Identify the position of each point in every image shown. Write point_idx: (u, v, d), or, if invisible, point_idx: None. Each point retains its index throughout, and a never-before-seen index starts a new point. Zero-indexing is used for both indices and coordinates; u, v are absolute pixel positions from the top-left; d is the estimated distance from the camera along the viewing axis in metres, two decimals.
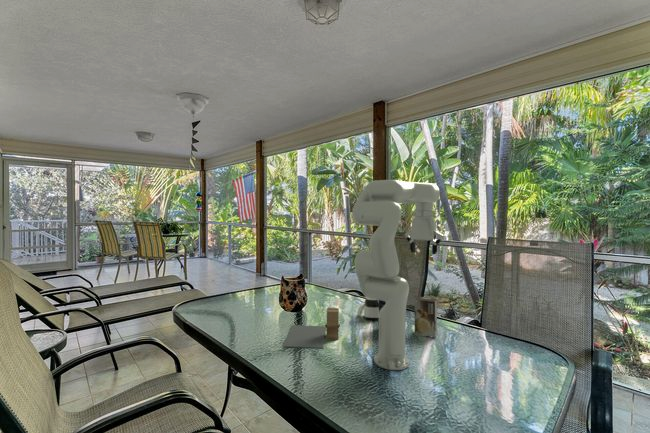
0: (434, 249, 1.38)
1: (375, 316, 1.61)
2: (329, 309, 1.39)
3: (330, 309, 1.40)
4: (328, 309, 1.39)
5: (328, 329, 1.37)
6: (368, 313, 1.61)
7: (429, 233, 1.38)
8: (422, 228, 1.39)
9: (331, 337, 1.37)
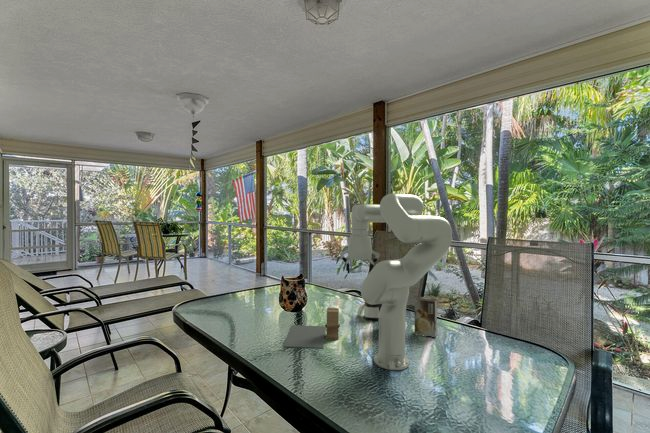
0: None
1: (375, 316, 1.61)
2: (329, 309, 1.39)
3: (330, 309, 1.40)
4: (328, 309, 1.39)
5: (328, 329, 1.37)
6: (368, 313, 1.61)
7: None
8: None
9: (331, 337, 1.37)
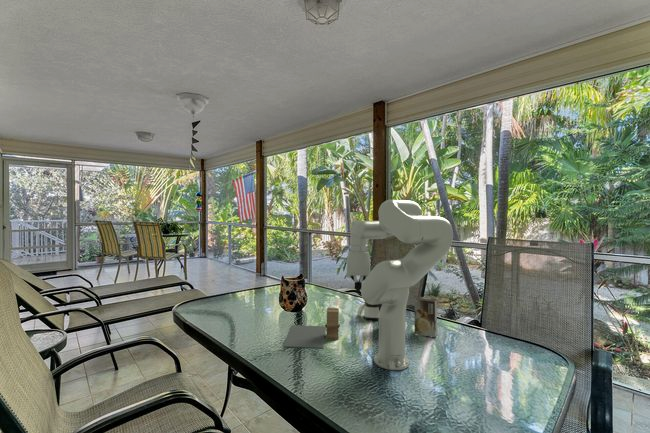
0: None
1: (375, 316, 1.61)
2: (329, 309, 1.39)
3: (330, 309, 1.40)
4: (328, 309, 1.39)
5: (328, 329, 1.37)
6: (368, 313, 1.61)
7: None
8: None
9: (331, 337, 1.37)
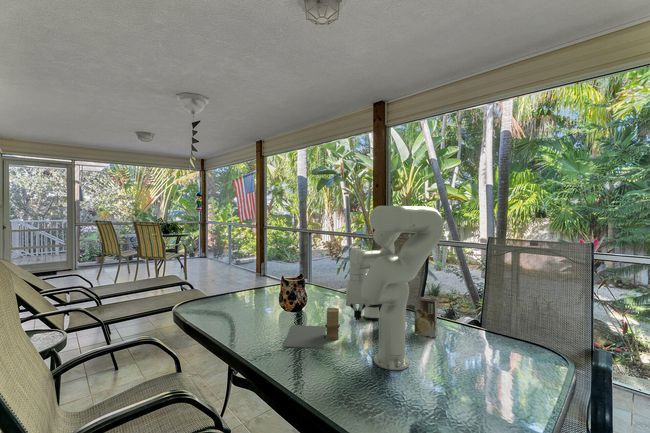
0: None
1: (375, 316, 1.61)
2: (329, 309, 1.39)
3: (330, 309, 1.40)
4: (328, 309, 1.39)
5: (328, 329, 1.37)
6: (368, 313, 1.61)
7: None
8: None
9: (331, 337, 1.37)
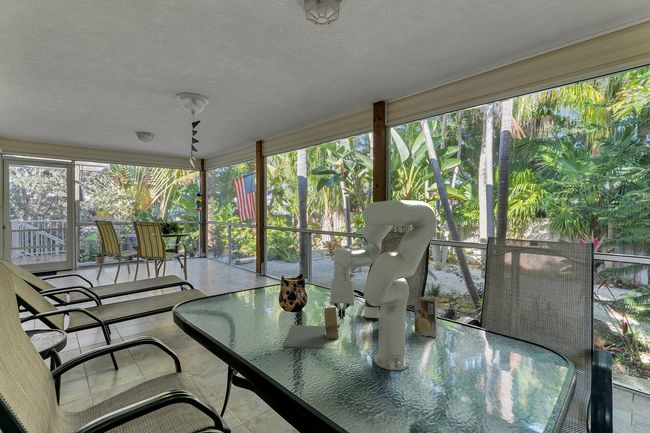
0: None
1: (375, 316, 1.61)
2: (326, 309, 1.39)
3: (327, 309, 1.40)
4: (325, 309, 1.39)
5: (327, 329, 1.37)
6: (368, 313, 1.61)
7: None
8: None
9: (331, 337, 1.37)
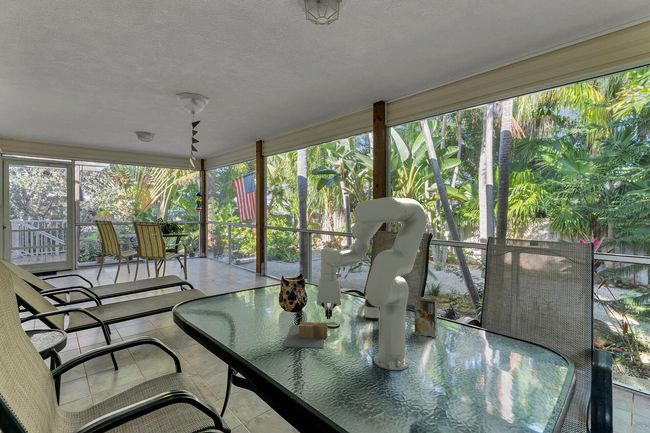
0: None
1: (375, 316, 1.61)
2: None
3: None
4: None
5: (316, 336, 1.37)
6: (368, 313, 1.61)
7: None
8: None
9: (324, 333, 1.37)
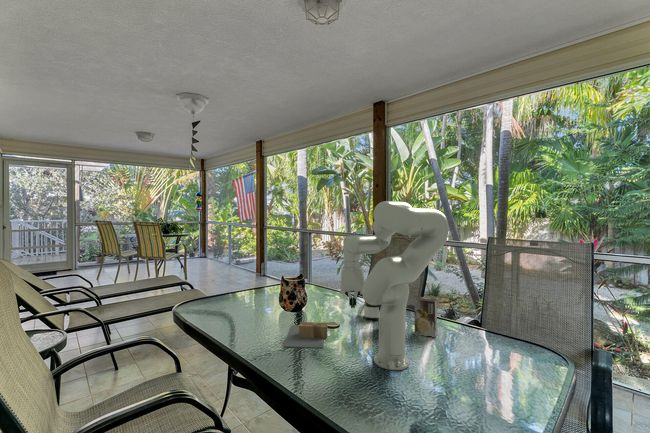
0: None
1: (375, 316, 1.61)
2: None
3: None
4: None
5: (316, 336, 1.37)
6: (368, 313, 1.61)
7: None
8: None
9: (324, 333, 1.37)
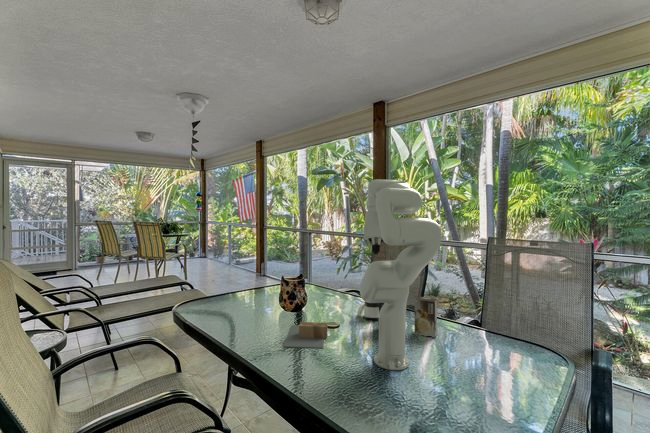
0: None
1: (375, 316, 1.61)
2: None
3: None
4: None
5: (316, 336, 1.37)
6: (368, 313, 1.61)
7: None
8: None
9: (324, 333, 1.37)
